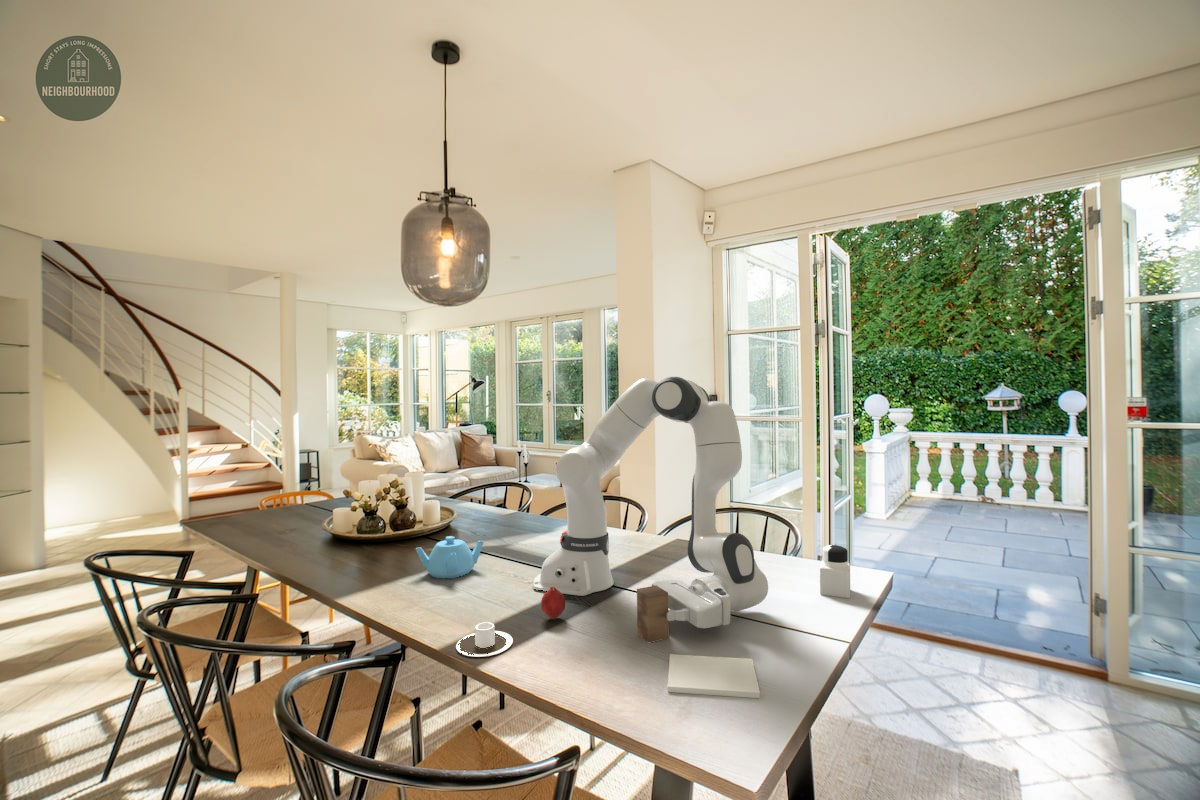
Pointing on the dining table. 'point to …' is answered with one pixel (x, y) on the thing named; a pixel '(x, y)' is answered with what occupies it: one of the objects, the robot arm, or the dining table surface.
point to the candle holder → (486, 639)
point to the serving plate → (712, 676)
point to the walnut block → (652, 613)
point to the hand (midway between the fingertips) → (654, 608)
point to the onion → (553, 603)
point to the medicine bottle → (835, 572)
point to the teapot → (450, 558)
